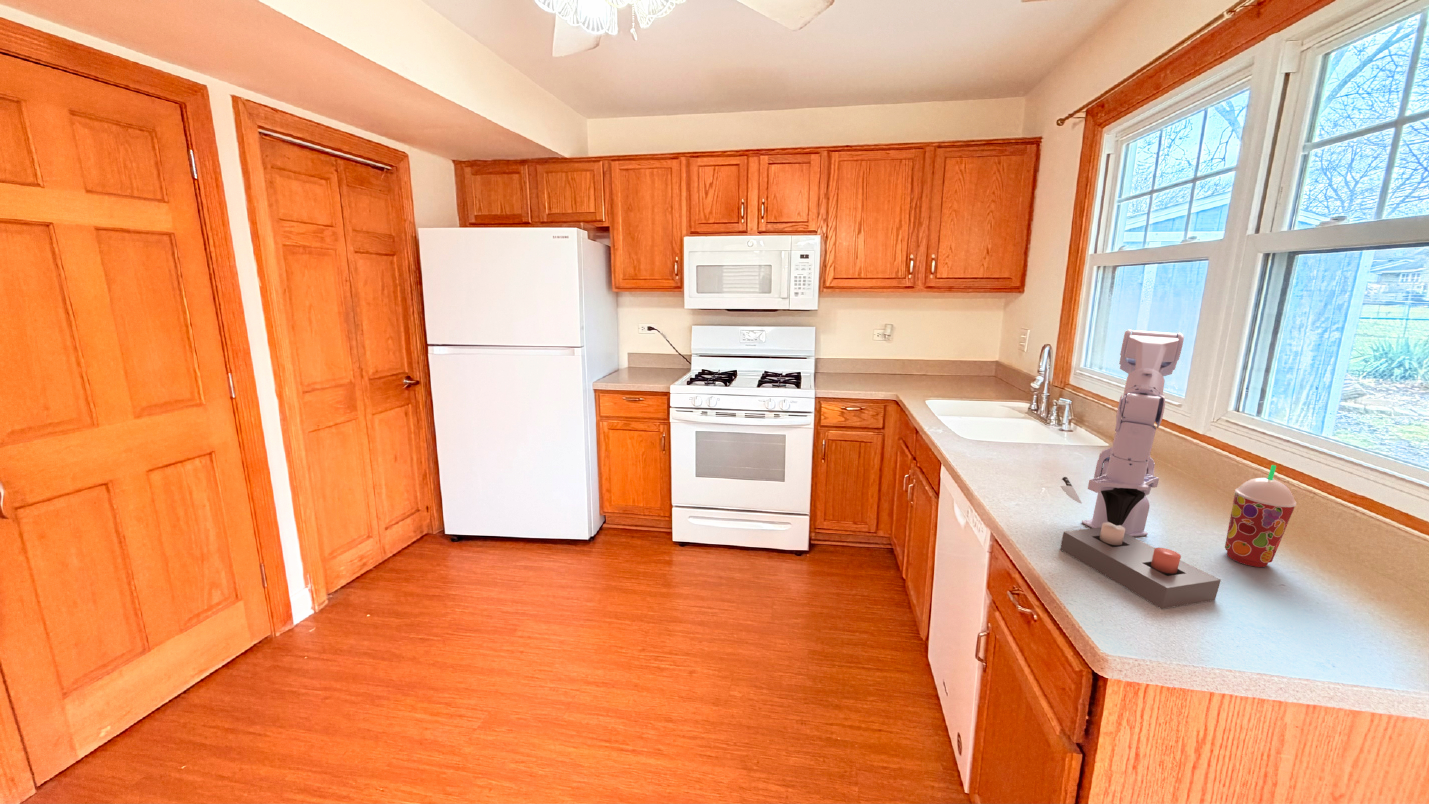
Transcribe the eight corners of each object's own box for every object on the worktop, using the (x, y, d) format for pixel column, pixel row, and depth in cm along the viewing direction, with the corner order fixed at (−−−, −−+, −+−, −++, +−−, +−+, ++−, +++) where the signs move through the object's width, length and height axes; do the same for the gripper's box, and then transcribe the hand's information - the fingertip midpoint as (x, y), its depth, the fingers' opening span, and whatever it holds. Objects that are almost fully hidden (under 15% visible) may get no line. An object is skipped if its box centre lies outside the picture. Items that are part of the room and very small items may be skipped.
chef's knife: (1068, 505, 130) (1083, 507, 129) (1069, 501, 130) (1083, 502, 129) (1054, 478, 147) (1067, 479, 146) (1054, 474, 147) (1067, 475, 146)
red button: (1161, 561, 96) (1164, 546, 95) (1182, 572, 93) (1186, 556, 92) (1145, 563, 95) (1149, 548, 95) (1166, 574, 92) (1170, 559, 91)
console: (1106, 543, 111) (1110, 526, 110) (1214, 600, 92) (1220, 579, 91) (1060, 549, 108) (1063, 531, 107) (1161, 609, 89) (1167, 587, 88)
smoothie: (1259, 553, 108) (1287, 461, 103) (1287, 575, 100) (1318, 476, 95) (1209, 546, 111) (1233, 455, 106) (1232, 566, 103) (1259, 469, 98)
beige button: (1109, 535, 106) (1112, 521, 105) (1126, 544, 102) (1130, 530, 101) (1094, 537, 105) (1097, 523, 104) (1112, 546, 101) (1115, 531, 101)
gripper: (1119, 466, 94) (1104, 536, 97) (1181, 461, 97) (1164, 529, 100) (1083, 453, 100) (1070, 519, 104) (1143, 449, 104) (1128, 513, 107)
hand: (1114, 523), depth 103 cm, fingers closed
